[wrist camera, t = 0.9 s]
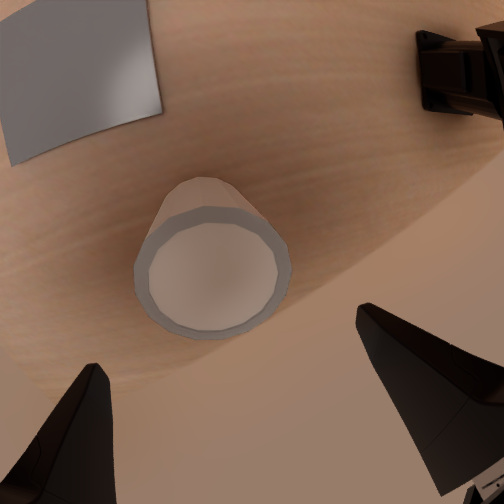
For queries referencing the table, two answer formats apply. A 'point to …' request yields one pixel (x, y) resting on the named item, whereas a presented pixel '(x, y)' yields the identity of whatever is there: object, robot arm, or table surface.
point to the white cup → (210, 263)
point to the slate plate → (74, 72)
